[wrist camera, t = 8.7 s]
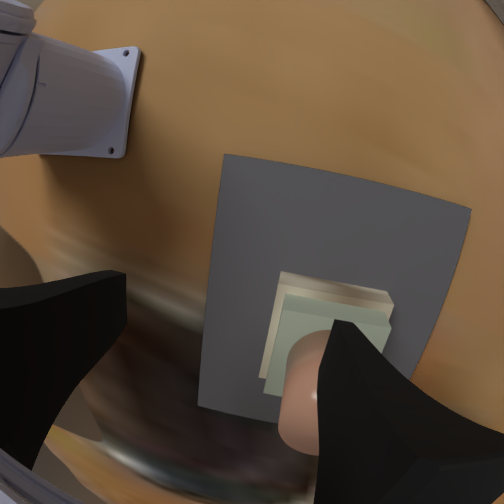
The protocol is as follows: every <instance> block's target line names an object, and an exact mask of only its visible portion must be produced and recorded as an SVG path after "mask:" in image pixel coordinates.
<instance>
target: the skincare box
mask: <svg viewBox="0 0 504 504" xmlns="http://www.w3.org/2000/svg"><path fill="white" fill-rule="evenodd" d="M485 1H486V2H487V3H488V5H489V6H490V7H491V8H492V10H493V11H494V12H495V14H496V15H497V16H498V18H499V19H500V20H501V22H502V23H503V24H504V0H485Z"/></svg>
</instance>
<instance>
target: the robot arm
mask: <svg viewBox="0 0 504 504" xmlns="http://www.w3.org/2000/svg"><path fill="white" fill-rule="evenodd" d="M35 25H36V20H35V19H34V12H33V9H32V8H31V7H29V6H27V5H25V4H23V3H20V2H18V1H16V0H0V158H3V157H11V156H20V155H29V154H50V155H72V156H89V157H104V158H122V157H123V156H124V155H125V151H126V142H127V134H128V126H129V119H130V112H131V105H132V99H133V93H134V87H135V81H136V76H137V70H138V65H139V60H140V55H141V50H140V49H139V48H138V47H135V46H133V47H123V48H114V49H106V50H99V51H92V52H91V51H89V50H86V49H83V48H80V47H77V46H74V45H72V44H69V43H66V42H63V41H60V40H56V39H53V38H50V37H47V36H44V35H40V34H37V33H34V32H32V30H33V29H34V27H35ZM127 52H129V55H128V56H126V53H127ZM112 148H113V149H114V153H113V154H112V153H111V149H112ZM126 325H127V303H126V274H125V273H121V272H117V271H113V270H106V271H99V272H94V273H89V274H84V275H80V276H75V277H71V278H66V279H62V280H57V281H52V282H47V283H42V284H37V285H30V286H23V287H13V288H0V479H1V480H2V481H3V482H4V483H6V484H7V485H8V486H9V487H11V488H12V489H13V490H15V491H16V492H17V493H19V494H20V495H22V496H23V497H24V498H26V499H27V500H28V501H30V502H31V503H33V504H86V503H84V502H82V501H80V500H78V499H76V498H74V497H73V496H71V495H69V494H67V493H65V492H64V491H62V490H60V489H59V488H57V487H55V486H54V485H52V484H50V483H49V482H47V481H46V480H44V479H43V478H41V477H39V476H38V475H36V474H35V473H33V472H32V468H33V466H34V463H35V460H36V458H37V456H38V453H39V451H40V448H41V446H42V444H43V442H44V440H45V438H46V436H47V434H48V432H49V430H50V428H51V426H52V424H53V422H54V421H55V419H56V417H57V415H58V414H59V412H60V410H61V409H62V407H63V405H64V404H65V402H66V401H67V399H68V398H69V396H70V395H71V393H72V392H73V390H74V389H75V387H76V386H77V385H78V384H79V383H80V381H81V380H82V379H83V378H84V377H85V376H86V374H87V373H88V372H89V371H90V370H91V369H92V368H93V367H94V366H95V364H96V363H97V362H98V361H99V360H100V359H101V358H102V357H103V356H104V354H105V353H106V352H107V351H108V350H109V349H110V348H111V346H112V345H113V344H114V343H115V342H116V340H117V339H118V337H119V336H120V334H121V333H122V331H123V329H124V328H125V326H126ZM317 414H318V434H319V463H318V473H317V482H316V490H315V497H314V504H492V503H493V502H494V501H495V500H496V499H497V498H498V497H499V496H501V495H502V494H503V493H504V434H503V433H500V432H498V431H495V430H492V429H489V428H487V427H484V426H482V425H479V424H477V423H475V422H473V421H471V420H469V419H467V418H465V417H463V416H461V415H459V414H457V413H455V412H454V411H452V410H450V409H448V408H447V407H445V406H444V405H442V404H441V403H439V402H437V401H436V400H434V399H433V398H431V397H430V396H428V395H427V394H426V393H424V392H423V391H422V390H420V389H419V388H418V387H417V386H415V385H414V384H413V383H412V382H410V381H409V380H408V379H407V378H406V377H405V376H403V375H402V374H401V373H400V372H399V371H398V370H397V369H396V368H395V367H394V366H393V365H392V364H391V363H390V362H389V361H388V360H387V359H386V358H385V357H384V356H383V355H382V354H381V353H380V352H379V351H378V349H377V348H376V347H375V346H374V345H373V344H372V343H371V342H370V341H369V339H368V338H367V337H366V336H365V335H364V334H363V333H362V331H361V330H360V329H359V328H358V327H357V326H356V325H355V324H354V323H353V322H348V321H343V320H337V319H334V322H333V325H332V329H331V332H330V335H329V338H328V341H327V345H326V348H325V351H324V354H323V357H322V360H321V363H320V366H319V369H318V381H317ZM0 504H27V503H26V502H25V501H23V500H22V499H21V498H20V497H18V496H17V495H16V494H15V493H13V492H12V491H11V490H9V489H8V488H7V487H6V486H5V485H3V484H2V483H1V482H0Z"/></svg>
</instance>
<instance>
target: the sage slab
mask: <svg viewBox="0 0 504 504" xmlns="http://www.w3.org/2000/svg"><path fill="white" fill-rule="evenodd" d="M334 319H337V320H343V321H348V322H353V323H354V324H355V325H356V326H357V327H358V328H359V329H360V330H361V331H362V333H363V334H364V335H365V336H366V337H367V338H368V339H369V341H370V342H371V343H372V344H373V345H374V346H375V347H376V348H377V349H378V351H379V352H380V353H382V351H383V349H384V346H385V344H386V341H387V339H388V336H389V334H390V331H391V326H390V323H389V321H388V319H387V317H386V314H385V312H384V311H380V310H374V309H368V308H363V307H357V306H351V305H346V304H340V303H335V302H329V301H324V300H319V299H313V298H308V297H303V296H298V295H292V294H287V293H285V297H284V302H283V306H282V311H281V315H280V320H279V324H278V329H277V333H276V338H275V342H274V347H273V351H272V355H271V359H270V364H269V368H268V372H267V377H266V382H265V387H264V391H263V393H265V394H271V395H276V396H281V397H282V394H283V386H284V378H285V370H286V362H287V356H288V353H289V351H290V349H291V348H292V346H293V345H294V344H295V343H296V342H297V341H298V340H299V339H301V338H302V337H304V336H306V335H307V334H310V333H312V332H316V331H321V330H331V329H332V325H333V322H334Z"/></svg>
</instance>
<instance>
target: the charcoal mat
mask: <svg viewBox="0 0 504 504" xmlns="http://www.w3.org/2000/svg"><path fill="white" fill-rule="evenodd" d="M471 210H472V209H470V208H467V207H464V206H461V205H458V204H455V203H451V202H448V201H445V200H441V199H438V198H435V197H431V196H428V195H424V194H420V193H417V192H413V191H409V190H406V189H402V188H398V187H394V186H390V185H386V184H382V183H378V182H374V181H370V180H365V179H361V178H357V177H352V176H348V175H343V174H339V173H334V172H329V171H324V170H319V169H314V168H309V167H304V166H298V165H293V164H287V163H281V162H275V161H269V160H263V159H257V158H250V157H244V156H237V155H229V154H224V159H223V167H222V174H221V181H220V188H219V196H218V204H217V211H216V219H215V227H214V236H213V244H212V253H211V262H210V271H209V280H208V290H207V299H206V309H205V320H204V331H203V342H202V353H201V365H200V378H199V392H198V406H202V407H205V408H209V409H213V410H217V411H221V412H225V413H229V414H234V415H238V416H242V417H247V418H252V419H257V420H262V421H267V422H272V423H279V416H280V409H281V402H282V397H281V396H276V395H271V394H265V393H263V391H264V387H265V382H266V379H264V378H259V373H260V368H261V364H262V359H263V355H264V350H265V345H266V341H267V336H268V331H269V326H270V322H271V317H272V312H273V307H274V302H275V297H276V292H277V287H278V282H279V278H280V273H281V271H283V272H288V273H293V274H298V275H304V276H309V277H314V278H319V279H324V280H329V281H335V282H340V283H345V284H350V285H356V286H361V287H366V288H372V289H377V290H382V291H387V292H388V294H389V296H390V298H391V300H392V302H393V304H394V307H393V310H392V313H391V316H390V318H389V323H390V326H391V331H390V334H389V336H388V339H387V341H386V344H385V346H384V349H383V351H382V353H381V354H382V355H383V356H384V357H385V358H386V359H387V360H388V361H389V362H390V363H391V364H392V365H393V366H394V367H395V368H396V369H397V370H398V371H399V372H400V373H401V374H402V375H403V376H405V377H406V378H407V379H408V380H409V379H410V377H411V375H412V373H413V371H414V369H415V367H416V365H417V363H418V361H419V359H420V357H421V355H422V353H423V350H424V348H425V346H426V344H427V342H428V339H429V337H430V335H431V332H432V330H433V328H434V325H435V323H436V320H437V318H438V315H439V313H440V310H441V308H442V305H443V302H444V300H445V297H446V294H447V292H448V289H449V286H450V283H451V280H452V277H453V274H454V271H455V268H456V265H457V262H458V258H459V255H460V252H461V248H462V245H463V241H464V238H465V234H466V230H467V227H468V223H469V219H470V214H471Z"/></svg>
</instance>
